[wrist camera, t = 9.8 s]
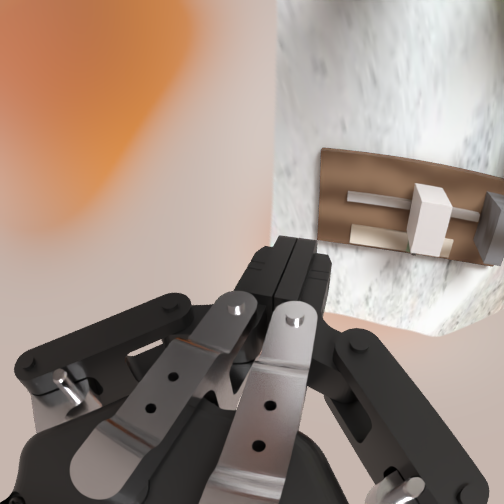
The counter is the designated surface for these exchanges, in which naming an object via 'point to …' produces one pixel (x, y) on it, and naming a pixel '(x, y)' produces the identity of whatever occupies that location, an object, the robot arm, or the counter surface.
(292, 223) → the counter surface
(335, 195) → the base
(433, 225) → the block
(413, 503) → the robot arm
